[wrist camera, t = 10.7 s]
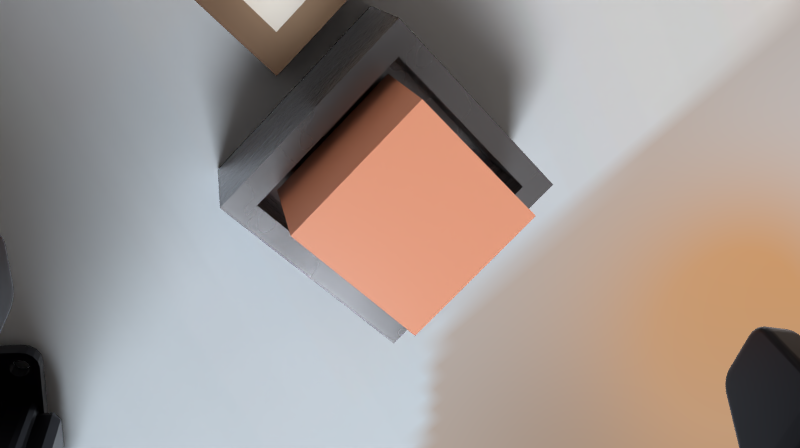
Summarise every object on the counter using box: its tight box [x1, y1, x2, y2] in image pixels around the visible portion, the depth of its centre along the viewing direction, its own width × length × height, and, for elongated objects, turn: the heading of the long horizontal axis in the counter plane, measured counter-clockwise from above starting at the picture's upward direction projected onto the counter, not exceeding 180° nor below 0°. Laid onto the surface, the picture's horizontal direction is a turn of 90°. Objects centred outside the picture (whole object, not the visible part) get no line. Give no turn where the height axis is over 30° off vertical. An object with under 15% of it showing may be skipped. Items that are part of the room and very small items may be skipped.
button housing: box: [218, 7, 553, 343], centre depth 19 cm, size 6×6×3 cm
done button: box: [277, 74, 535, 335], centre depth 17 cm, size 4×4×3 cm
